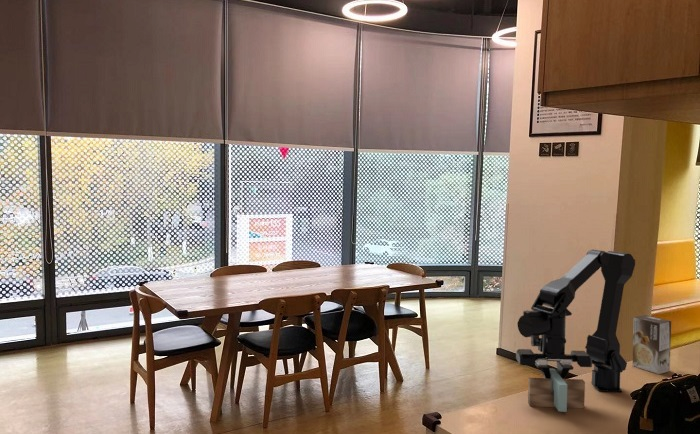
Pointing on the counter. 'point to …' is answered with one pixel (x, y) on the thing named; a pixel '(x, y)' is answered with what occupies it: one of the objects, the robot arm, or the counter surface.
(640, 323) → the coffee box
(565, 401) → the teal slotted plate
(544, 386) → the walnut slotted plate
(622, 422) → the counter surface
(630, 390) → the counter surface
